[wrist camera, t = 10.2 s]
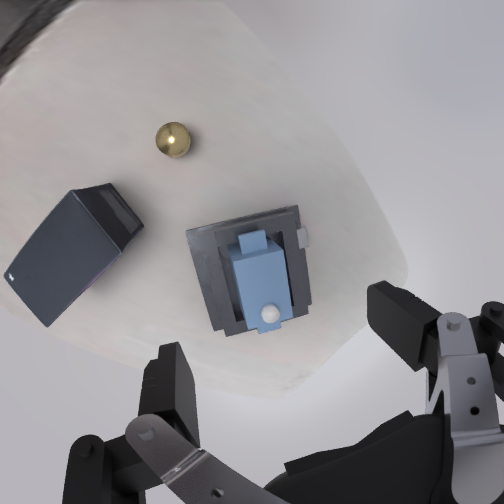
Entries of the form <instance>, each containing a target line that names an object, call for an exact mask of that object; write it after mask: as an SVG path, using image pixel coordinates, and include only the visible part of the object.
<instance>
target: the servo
mask: <svg viewBox="0 0 504 504" xmlns="http://www.w3.org/2000/svg"><path fill="white" fill-rule="evenodd" d="M238 239H239V243H237V244H232V245H228V246H226V247H227V251H228V256H229V260H230V265H231V269H232V274H233V278H234V283H235V287H236V292H237V296H238V300H239V305H240V308H241V311H242V313H243V316H244V319H245V322H246V325H247V328H248V330H250V329H254V328H257V330H258V333H259V334H260V333H264V332H268V331H271V330H275V329H279V328H281V323H280V321H283V320H287V319H290V318H293V313H292V306H291V299H290V292H289V285H288V278H287V271H286V265H285V258H284V252H283V249H282V248H281V247H279V246H278V245H277V244H276V243H275V242H274V241H273V240H272V239H270V238H269V237H268V236H267V237H266V235H265V230H258V231H254V232H249V233H245V234H241V235H238Z"/></svg>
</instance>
